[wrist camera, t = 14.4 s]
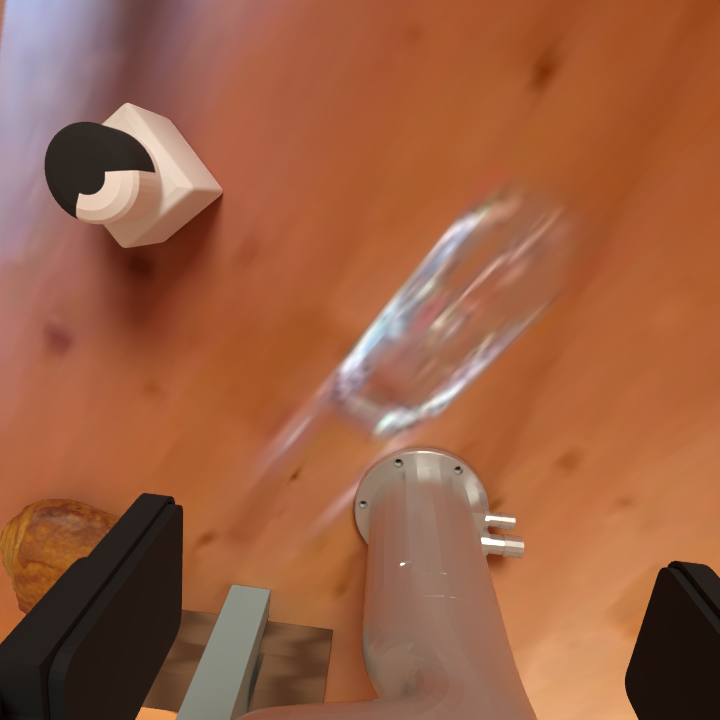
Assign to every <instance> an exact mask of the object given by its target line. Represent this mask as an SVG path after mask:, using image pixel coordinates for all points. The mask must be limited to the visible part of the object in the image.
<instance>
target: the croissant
mask: <svg viewBox="0 0 720 720" xmlns="http://www.w3.org/2000/svg"><path fill="white" fill-rule="evenodd" d="M119 519H120V518H119V517H117V516H114V515H111V514H108V513H106V512H104V511H101V510H99V509H93V508H92V507H91V506H89V505H86V504H83V503H81V502H77V501H72V500H66V499H48V500H42V501H37V502H35V503H33V504H32V505H28V506H26V507H25V508H24V509H23V511H22V512H21V513H20V514H19V515H17V516H16V517H14V518H13V519H12V520H11V521H10V522H8V523H7V525H6V527H5V528H4V530H3V532H2V535H1V539H0V550H1V551H2V555H3V564H4V566H5V569H6V571H7V573H8V575H9V576H10V577H11V578H12V582H13V587H14V591H15V592H16V596H17V599H18V602H19V609H20V610H21V611H23V612H24V613H26V614H28V613H29V612H30V611H31V609H32V608H33V607H34V606H35V605H36V604H37V603H38V602H39V600H40V599H41V598H42V597H43V596H44V595H45V594H46V593H47V592H48V590H49V589H50V588H51V587H52V586H53V585H54V584H55V583H56V581H57V580H58V579H59V578H60V577H61V576H62V575H63V574H64V572H65V571H66V570H67V569H68V568H69V567H70V566H71V565H72V564H73V563H74V562H75V561H76V560H77V559H79V558H82V557H87V556H88V555H89V554H90V553H91V552H92V550H93V549H94V548H95V547H96V546H97V545H98V543H99V542H100V541H101V540H102V539H103V538H104V537H105V535H106V534H107V533H108V532H109V531H110V530H111V529H112V527H113V526H114V525H115V524H116V523H117V522H118V520H119Z"/></svg>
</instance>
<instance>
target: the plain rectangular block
mask: <svg viewBox="0 0 720 720" xmlns="http://www.w3.org/2000/svg"><path fill="white" fill-rule="evenodd" d="M269 603H270V590H269V589H262V588H254V587H247V586H240V585H232V587H231V589H230V591H229V594H228V596H227V598H226V601H225V603H224V606H223V608H222V610H221V613H220V615H219V617H218V620H217V622H216V625H215V627H214V629H213V632H212V634H211V637H210V639H209V641H208V644H207V646H206V648H205V651H204V653H203V656H202V658H201V660H200V663H199V665H198V667H197V670H196V672H195V675H194V677H193V679H192V682H191V684H190V687H189V689H188V691H187V694H186V696H185V698H184V701H183V703H182V706H181V708H180V710H179V713H178V715H177V717H176V720H236V719H238V718H240V717H241V716H243V715H245V714H247V713H249V712H252V711H253V708H254V693H255V686H256V683H257V670H258V657H259V646H260V642H261V639H262V636H263V632H264V629H265V626H266V622H267V619H268V615H269Z"/></svg>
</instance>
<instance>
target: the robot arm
mask: <svg viewBox="0 0 720 720" xmlns="http://www.w3.org/2000/svg"><path fill="white" fill-rule="evenodd" d="M396 459H400V461H397V460H396ZM456 467H459V468H456ZM362 501H365V502H362ZM354 513H355V519H356V524H357V527H358V529H359V532H360V534H361V536H362V537H363V539H364V540H365V542H366V543H367V544H368V557H367V572H366V587H365V602H364V617H363V633H362V651H363V657H364V663H365V667H366V671H367V674H368V676H369V679H370V682H371V684H372V686H373V689H374V690H375V692H376V694H377V696H378V697H379V699H373V700H369V701H351V702H333V703H315V704H298V705H289V706H278V707H270V708H263V709H259V710H255V711H252V712H249V713H247V714H245V715H243V716H241V717H240V718H238V719H236V720H538V719H537V717H536V715H535V713H534V710H533V708H532V706H531V704H530V701H529V699H528V696H527V694H526V692H525V689H524V687H523V684H522V681H521V678H520V675H519V672H518V670H517V667H516V664H515V660H514V657H513V654H512V651H511V647H510V644H509V640H508V637H507V633H506V630H505V626H504V622H503V619H502V615H501V611H500V607H499V604H498V600H497V596H496V593H495V589H494V585H493V582H492V578H491V574H490V571H489V567H488V563H487V559H486V557H487V555H488V554H496V555H501V556H504V557H511V558H519V559H521V558H522V557H523V554H524V541H523V538H522V537H520V536H512V535H504V534H502V535H496V534H489V532H488V530H487V528H488V526H490V527H498V528H500V529H508V530H514V527H515V516H514V514H507V513H493V512H489V506H488V500H487V495H486V492H485V489H484V486H483V484H482V482H481V480H480V479H479V477H478V475H477V474H476V473H475V471H474V470H473V469H472V468H471V467H470V466H469V465H468V464H467V463H465V462H464V461H463V460H462V459H460V458H459V457H457V456H455V455H453V454H451V453H449V452H446V451H442V450H439V449H435V448H427V447H416V448H407V449H403V450H399V451H396V452H394V453H391V454H389V455H387V456H385V457H384V458H382V459H381V460H379V461H377V462H376V463H375V464H374V465H373V466H372V467H371V468H370V469H369V470H368V471H367V472H366V474H365V475H364V477H363V478H362V480H361V482H360V484H359V487H358V489H357V493H356V499H355V510H354ZM182 553H183V508H182V506H181V505H175V501H174V498H173V497H172V496H164V495H156V494H148V493H143V494H142V495H140V496H139V497H138V499H137V500H136V501H135V502H134V503H133V504H132V505H131V507H130V508H129V509H128V510H127V511H126V512H125V514H124V515H123V516H122V517H121V518H120V519H119V520H118V522H117V523H116V524H115V525H114V526H113V527H112V529H111V530H110V531H109V532H108V533H107V534H106V535H105V537H104V538H103V539H102V540H101V541H100V542H99V543H98V545H97V546H96V547H95V548H94V549H93V550H92V552H91V553H90V554H89V555H88V556H87V557H82V558H79V559H77V560H76V561H75V562H74V563H73V564H72V565H71V566H70V567H69V568H68V569H67V570H66V571H65V572H64V574H63V575H62V576H61V577H60V578H59V579H58V580H57V581H56V583H55V584H54V585H53V586H52V587H51V588H50V589H49V590H48V592H47V593H46V594H45V595H44V596H43V597H42V598H41V599H40V600H39V602H38V603H37V604H36V605H35V606H34V607H33V608H32V609H31V611H30V612H29V613H28V614H27V615H26V616H25V617H24V618H23V620H22V621H21V622H20V623H19V624H18V625H17V626H16V627H15V628H14V630H13V631H12V632H11V633H10V634H9V635H8V636H7V637H6V639H5V640H4V641H3V642H2V643H1V644H0V720H135V719H136V717H137V715H138V713H139V711H140V708H141V707H142V705H143V703H144V701H145V699H146V697H147V695H148V693H149V691H150V689H151V687H152V685H153V683H154V681H155V679H156V677H157V675H158V673H159V671H160V669H161V667H162V665H163V663H164V661H165V659H166V657H167V655H168V653H169V651H170V649H171V647H172V645H173V643H174V641H175V639H176V636H177V634H178V631H179V628H180V624H181V616H182ZM625 688H626V693H627V696H628V699H629V701H630V703H631V705H632V707H633V709H634V711H635V713H636V715H637V717H638V719H639V720H720V578H719V577H718V576H717V574H716V573H715V572H714V571H713V570H712V569H711V568H710V567H709V566H707V565H704V564H696V563H688V562H681V561H673V562H671V563H670V564H669V565H668V567H667V568H666V567H665V568H662V569H661V570H660V571H659V573H658V576H657V579H656V582H655V585H654V588H653V591H652V595H651V598H650V601H649V604H648V607H647V610H646V613H645V616H644V619H643V623H642V626H641V629H640V632H639V635H638V638H637V641H636V644H635V647H634V651H633V654H632V657H631V660H630V663H629V666H628V669H627V672H626V676H625Z"/></svg>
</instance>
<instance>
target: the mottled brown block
mask: <svg viewBox="0 0 720 720" xmlns="http://www.w3.org/2000/svg"><path fill="white" fill-rule="evenodd" d="M218 617H219V615H216V614H209V613H201V612H194V611H186V610H182V616H181V624H180V628H179V631H178V634H177V636H176V639H175V641H174V643H173V645H172V647H171V649H170V651H169V653H168V655H167V657H166V659H165V661H164V663H163V665H162V667H161V669H160V671H159V673H158V675H157V677H156V679H155V681H154V683H153V685H152V687H151V689H150V691H149V693H148V695H147V697H146V699H145V701H144V703H143V705H142V707H147V708H154V709H161V710H169V711H176V712H179V710H180V708H181V706H182V703H183V701H184V698H185V696H186V694H187V691H188V689H189V687H190V684H191V682H192V679H193V677H194V675H195V672H196V670H197V667H198V665H199V663H200V660H201V658H202V656H203V653H204V651H205V648H206V646H207V644H208V641H209V639H210V637H211V634H212V632H213V629H214V627H215V625H216V622H217V620H218ZM332 633H333V630H329V629H322V628H314V627H307V626H299V625H292V624H284V623H277V622H269V621H267V622H266V626H265V629H264V632H263V636H262V639H261V642H260V646H259V657H258V670H257V683H256V686H255V693H254V708H253V711H255V710H259V709H263V708H270V707H278V706H289V705H298V704H315V703H324V696H325V688H326V681H327V673H328V666H329V659H330V650H331V641H332Z"/></svg>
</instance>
